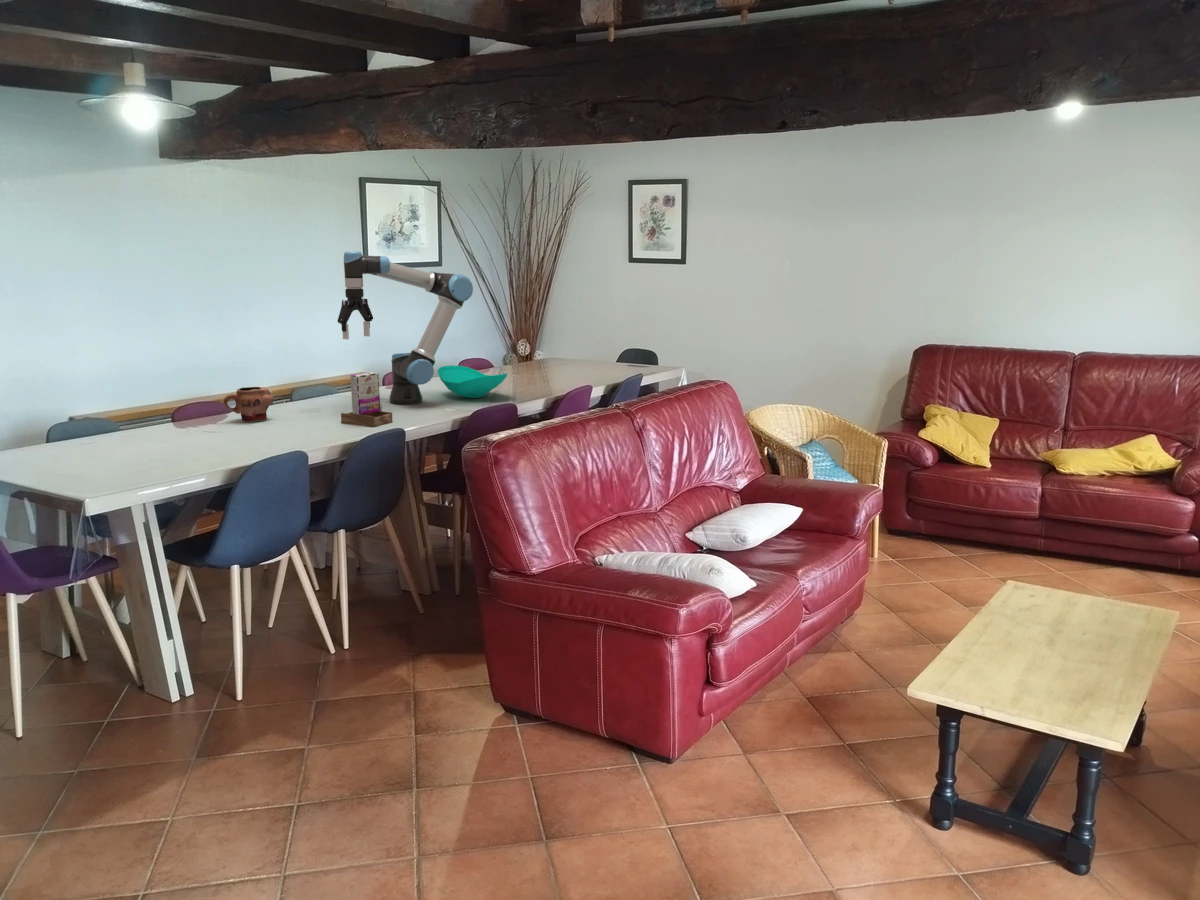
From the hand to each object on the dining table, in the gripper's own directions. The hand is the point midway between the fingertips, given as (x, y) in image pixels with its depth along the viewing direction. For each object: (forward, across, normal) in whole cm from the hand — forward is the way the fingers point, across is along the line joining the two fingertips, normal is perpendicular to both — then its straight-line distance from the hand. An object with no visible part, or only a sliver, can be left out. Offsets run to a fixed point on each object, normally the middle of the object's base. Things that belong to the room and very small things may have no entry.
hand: (356, 337), depth 399 cm
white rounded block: (+33, +6, +13) cm, 36 cm away
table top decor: (+33, -56, +22) cm, 69 cm away
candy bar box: (+29, +17, +18) cm, 38 cm away
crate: (+33, +17, +18) cm, 41 cm away
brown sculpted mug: (+33, +38, -26) cm, 57 cm away
